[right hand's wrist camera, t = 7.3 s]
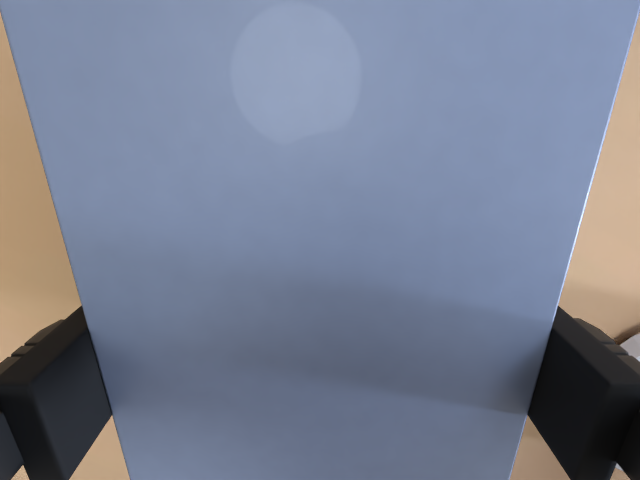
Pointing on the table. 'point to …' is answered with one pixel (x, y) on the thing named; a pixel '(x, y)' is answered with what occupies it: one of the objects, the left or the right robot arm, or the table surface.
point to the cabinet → (319, 219)
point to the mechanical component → (635, 347)
